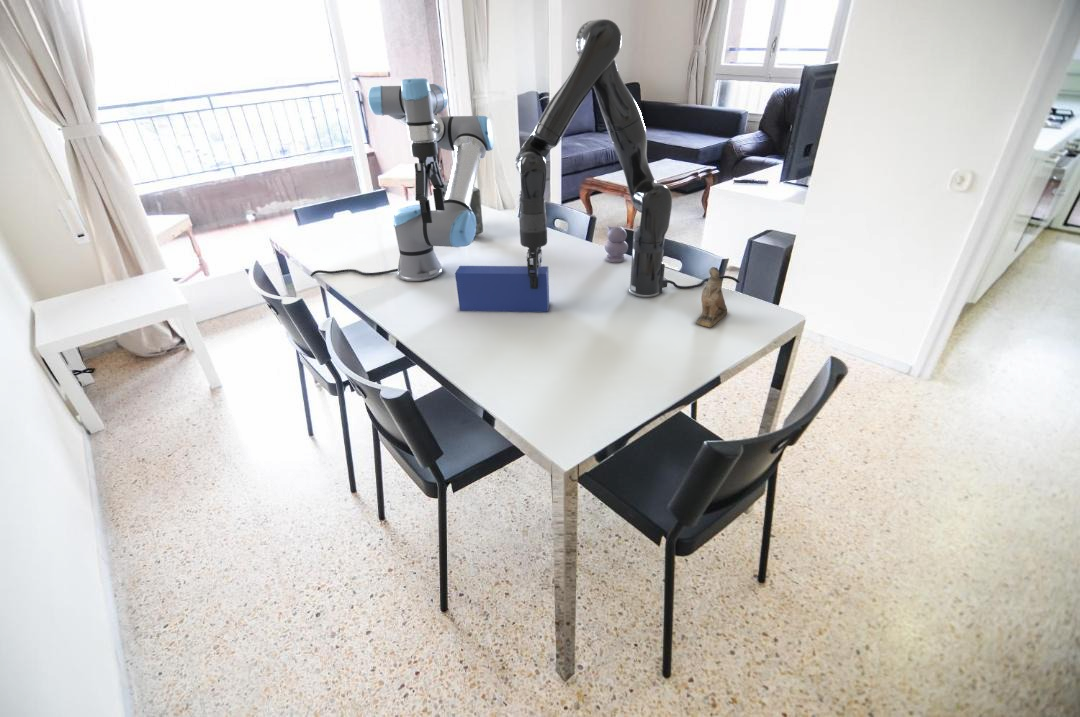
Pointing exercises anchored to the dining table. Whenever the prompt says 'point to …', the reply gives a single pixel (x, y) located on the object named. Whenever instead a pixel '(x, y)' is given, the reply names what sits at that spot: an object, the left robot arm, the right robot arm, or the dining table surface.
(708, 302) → the brown carved statuette
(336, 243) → the dining table surface
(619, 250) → the cat figurine
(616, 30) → the right robot arm
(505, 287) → the box
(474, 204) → the concrete block
